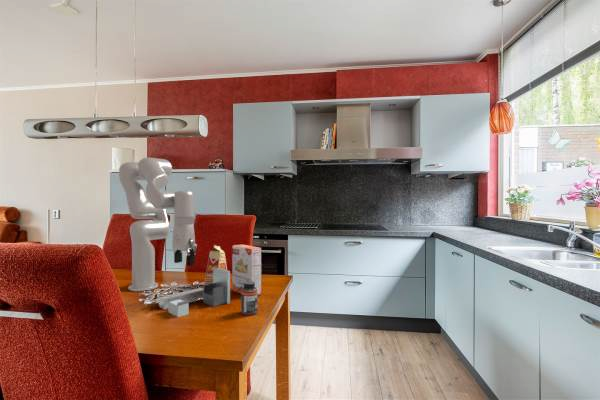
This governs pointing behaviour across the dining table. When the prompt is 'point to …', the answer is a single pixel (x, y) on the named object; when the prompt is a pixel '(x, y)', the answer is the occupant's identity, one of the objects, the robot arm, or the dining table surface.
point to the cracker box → (246, 266)
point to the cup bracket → (217, 288)
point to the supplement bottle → (249, 298)
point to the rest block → (178, 307)
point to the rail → (182, 297)
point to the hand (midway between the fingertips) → (184, 263)
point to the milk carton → (215, 263)
